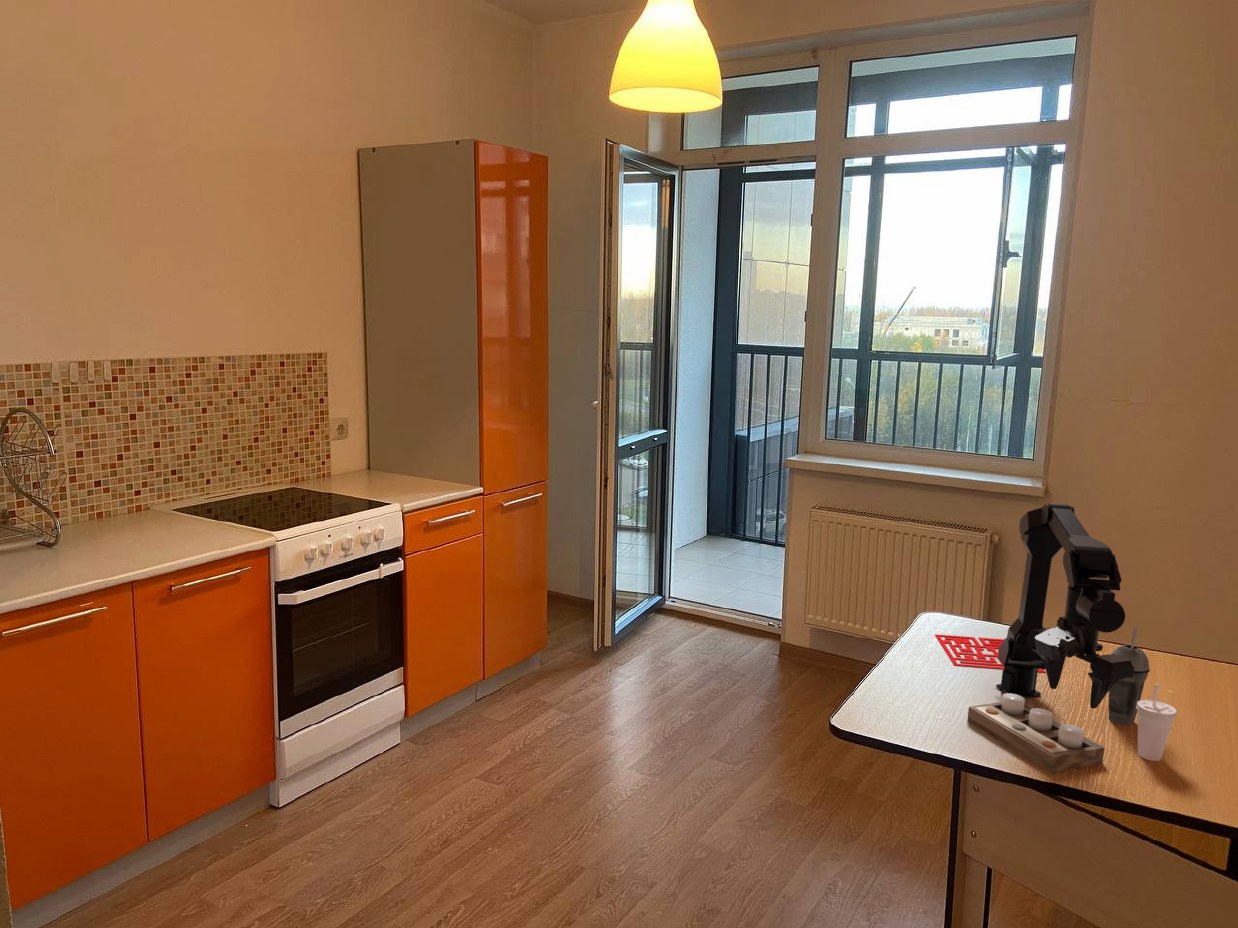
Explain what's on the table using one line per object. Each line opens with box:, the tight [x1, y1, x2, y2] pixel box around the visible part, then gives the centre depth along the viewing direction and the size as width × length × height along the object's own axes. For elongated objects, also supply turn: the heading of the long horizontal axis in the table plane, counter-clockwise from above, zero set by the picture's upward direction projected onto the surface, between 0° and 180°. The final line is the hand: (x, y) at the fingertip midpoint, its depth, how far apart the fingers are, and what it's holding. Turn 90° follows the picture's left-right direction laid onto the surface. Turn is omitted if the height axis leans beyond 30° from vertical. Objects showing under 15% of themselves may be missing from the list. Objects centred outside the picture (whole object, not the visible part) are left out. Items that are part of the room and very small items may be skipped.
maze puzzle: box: [934, 633, 1047, 674], centre depth 216 cm, size 20×20×1 cm
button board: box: [966, 701, 1105, 774], centre depth 171 cm, size 12×21×3 cm, turn 21°
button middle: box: [1028, 707, 1054, 732], centre depth 172 cm, size 4×4×3 cm
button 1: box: [1001, 692, 1026, 716], centre depth 178 cm, size 4×4×3 cm
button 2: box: [1057, 723, 1085, 750], centre depth 165 cm, size 4×4×3 cm
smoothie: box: [1136, 683, 1178, 762], centre depth 166 cm, size 6×6×14 cm
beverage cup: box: [1108, 625, 1151, 726], centre depth 181 cm, size 7×7×20 cm
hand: (1072, 698), depth 164 cm, fingers open, 9 cm apart
